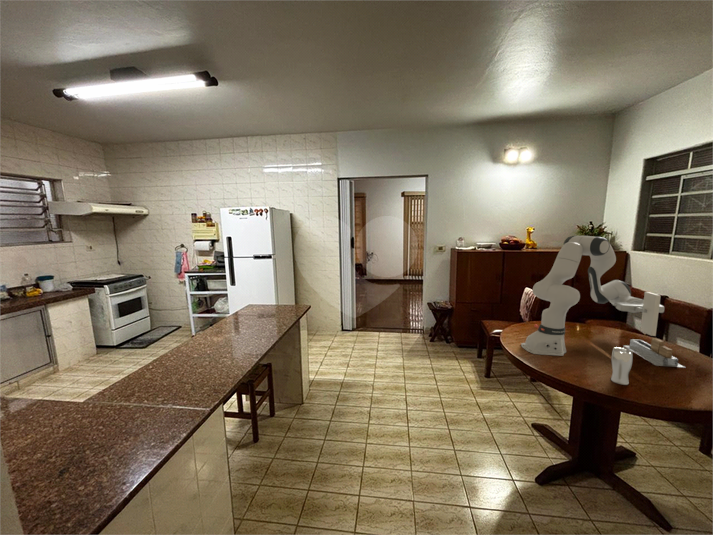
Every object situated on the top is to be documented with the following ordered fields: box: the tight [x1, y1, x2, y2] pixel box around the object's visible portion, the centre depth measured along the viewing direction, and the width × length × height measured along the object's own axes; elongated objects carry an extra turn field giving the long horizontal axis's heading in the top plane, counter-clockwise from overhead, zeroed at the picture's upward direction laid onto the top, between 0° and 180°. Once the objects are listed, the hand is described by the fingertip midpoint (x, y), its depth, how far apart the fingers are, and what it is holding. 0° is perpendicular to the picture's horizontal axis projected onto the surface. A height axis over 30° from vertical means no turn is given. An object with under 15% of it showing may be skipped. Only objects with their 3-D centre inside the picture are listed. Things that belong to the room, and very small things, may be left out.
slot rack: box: [622, 338, 686, 369], centre depth 151 cm, size 12×25×6 cm, turn 166°
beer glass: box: [610, 346, 634, 386], centre depth 129 cm, size 7×7×15 cm
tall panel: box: [639, 291, 662, 337], centre depth 153 cm, size 2×8×22 cm, turn 166°
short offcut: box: [659, 345, 673, 358], centre depth 143 cm, size 2×5×8 cm, turn 166°
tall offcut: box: [650, 337, 665, 353], centre depth 148 cm, size 2×5×10 cm, turn 166°
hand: (649, 311), depth 153 cm, fingers closed on tall panel, 2 cm apart
